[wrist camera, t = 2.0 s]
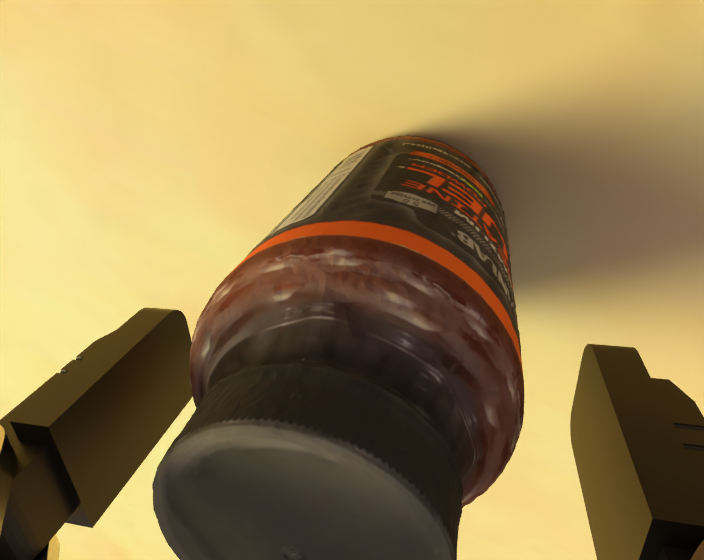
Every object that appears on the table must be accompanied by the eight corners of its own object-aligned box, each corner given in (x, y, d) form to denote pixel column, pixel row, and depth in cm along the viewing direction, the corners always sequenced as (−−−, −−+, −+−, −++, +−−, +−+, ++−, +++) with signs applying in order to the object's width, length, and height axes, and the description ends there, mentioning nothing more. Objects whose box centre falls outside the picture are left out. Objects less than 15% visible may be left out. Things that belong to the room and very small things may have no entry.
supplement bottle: (548, 215, 15) (687, 607, 5) (420, 334, 18) (350, 726, 8) (392, 85, 14) (196, 246, 4) (286, 232, 17) (27, 526, 7)
